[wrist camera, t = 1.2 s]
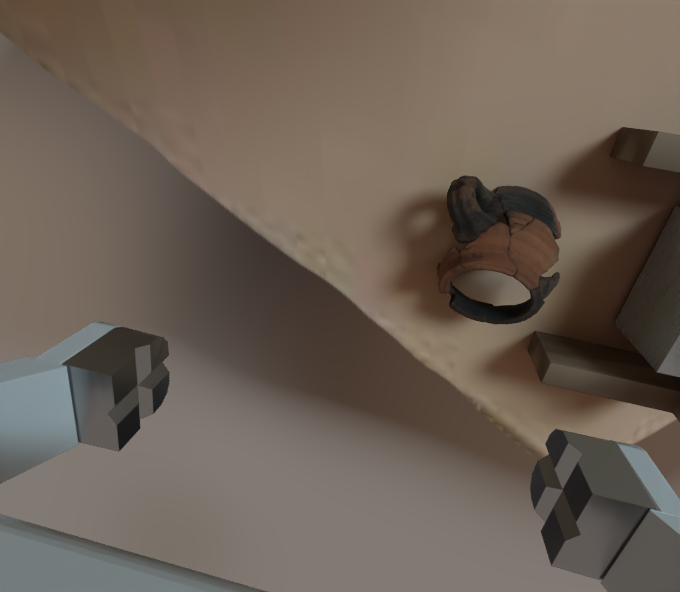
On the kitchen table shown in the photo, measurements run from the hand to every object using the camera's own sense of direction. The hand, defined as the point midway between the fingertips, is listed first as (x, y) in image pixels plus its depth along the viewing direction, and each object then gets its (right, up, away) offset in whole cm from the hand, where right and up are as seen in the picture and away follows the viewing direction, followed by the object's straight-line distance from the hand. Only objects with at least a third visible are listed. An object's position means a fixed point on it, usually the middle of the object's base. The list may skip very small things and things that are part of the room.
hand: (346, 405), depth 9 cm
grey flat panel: (+25, +4, +24) cm, 35 cm away
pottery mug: (+12, +8, +25) cm, 29 cm away
